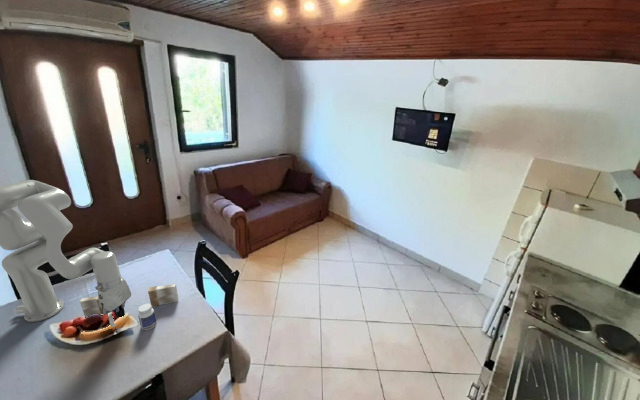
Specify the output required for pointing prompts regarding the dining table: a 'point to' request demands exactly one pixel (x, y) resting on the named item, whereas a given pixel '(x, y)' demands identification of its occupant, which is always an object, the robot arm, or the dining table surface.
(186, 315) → the dining table surface
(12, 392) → the dining table surface
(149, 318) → the pill bottle
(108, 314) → the white rectangular slab
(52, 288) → the robot arm
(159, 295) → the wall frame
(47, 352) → the dining table surface
